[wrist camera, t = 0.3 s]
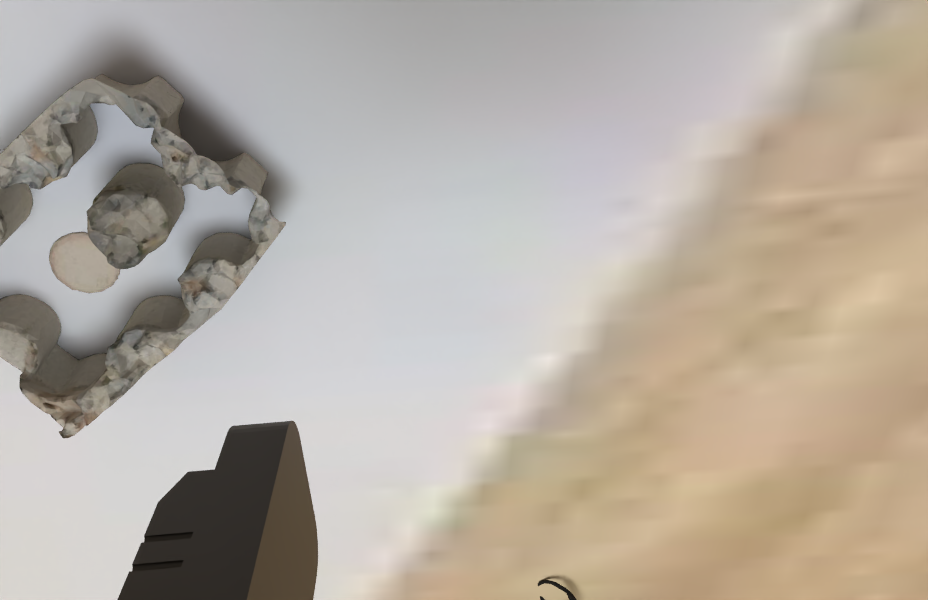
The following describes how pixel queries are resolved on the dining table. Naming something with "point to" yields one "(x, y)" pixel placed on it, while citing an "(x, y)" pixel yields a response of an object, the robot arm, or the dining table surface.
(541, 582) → the creature
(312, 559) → the robot arm
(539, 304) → the dining table surface
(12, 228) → the grey stone ruin model
